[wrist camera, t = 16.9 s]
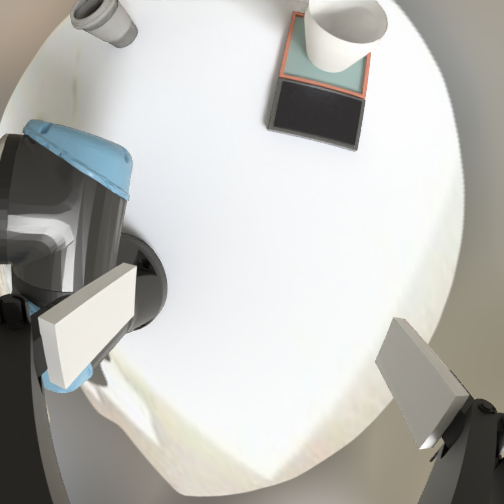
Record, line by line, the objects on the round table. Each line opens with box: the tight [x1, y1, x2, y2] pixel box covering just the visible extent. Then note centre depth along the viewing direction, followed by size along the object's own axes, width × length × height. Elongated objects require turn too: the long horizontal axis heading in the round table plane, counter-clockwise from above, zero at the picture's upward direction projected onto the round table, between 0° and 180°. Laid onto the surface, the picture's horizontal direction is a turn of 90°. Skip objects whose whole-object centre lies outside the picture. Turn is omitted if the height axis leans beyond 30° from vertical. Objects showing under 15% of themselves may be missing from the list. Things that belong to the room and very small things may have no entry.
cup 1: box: [70, 0, 138, 48], centre depth 28 cm, size 7×7×12 cm
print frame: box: [279, 11, 371, 100], centre depth 33 cm, size 12×12×1 cm
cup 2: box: [304, 0, 388, 73], centre depth 27 cm, size 9×9×12 cm
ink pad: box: [268, 78, 365, 152], centre depth 35 cm, size 12×8×2 cm, turn 79°
